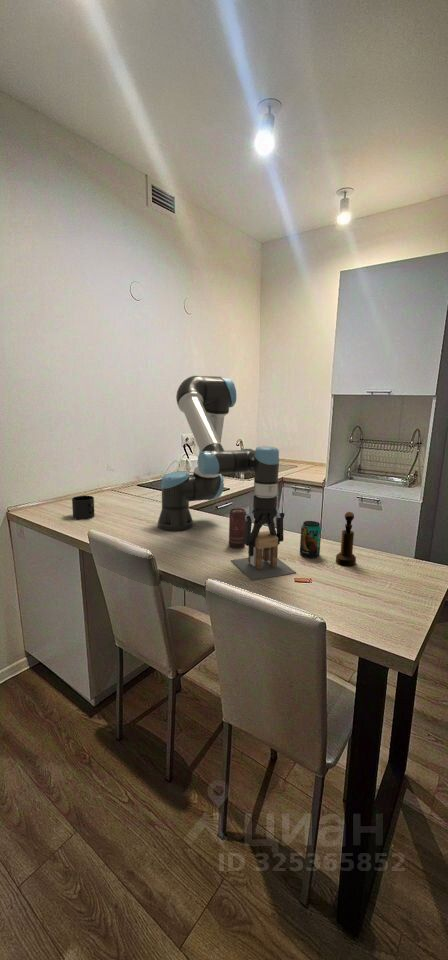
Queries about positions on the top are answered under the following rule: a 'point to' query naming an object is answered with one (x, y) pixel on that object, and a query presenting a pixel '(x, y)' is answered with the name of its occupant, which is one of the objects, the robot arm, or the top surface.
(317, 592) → the top surface
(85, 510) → the mug
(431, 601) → the top surface
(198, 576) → the top surface
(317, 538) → the beverage can
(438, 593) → the top surface
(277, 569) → the mat
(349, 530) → the dark brown chess piece
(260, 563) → the stool
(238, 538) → the can
